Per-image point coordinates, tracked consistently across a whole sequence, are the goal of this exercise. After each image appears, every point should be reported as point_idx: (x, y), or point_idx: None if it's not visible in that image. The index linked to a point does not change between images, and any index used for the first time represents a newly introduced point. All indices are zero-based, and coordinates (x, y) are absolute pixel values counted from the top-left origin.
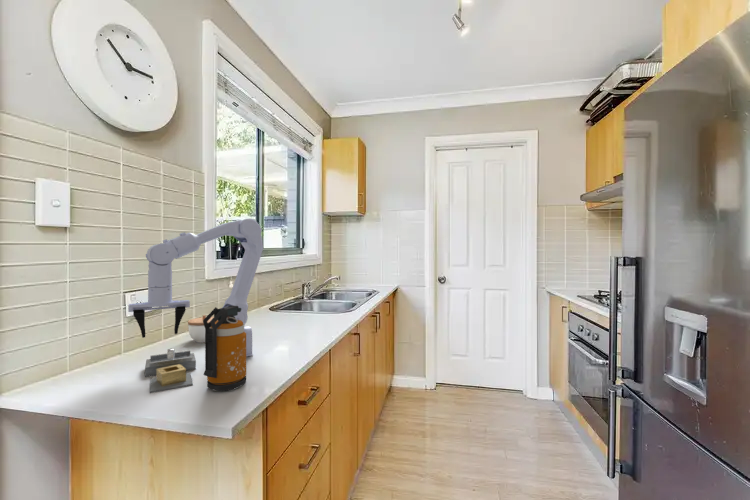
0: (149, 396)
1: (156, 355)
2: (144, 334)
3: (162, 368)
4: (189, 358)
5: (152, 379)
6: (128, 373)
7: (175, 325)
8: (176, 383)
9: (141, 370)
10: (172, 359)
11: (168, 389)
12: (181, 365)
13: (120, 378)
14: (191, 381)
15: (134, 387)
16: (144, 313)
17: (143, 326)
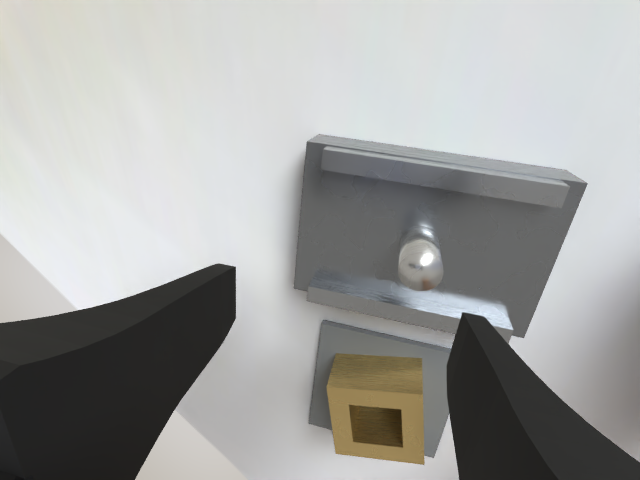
0: (307, 438)
1: (353, 172)
2: (220, 339)
3: (347, 397)
4: None
5: (325, 332)
6: (246, 164)
7: (456, 448)
8: None
9: (297, 154)
10: (411, 312)
11: None
12: (422, 415)
13: (222, 215)
14: (437, 439)
15: (271, 345)
16: (71, 448)
17: (174, 398)
